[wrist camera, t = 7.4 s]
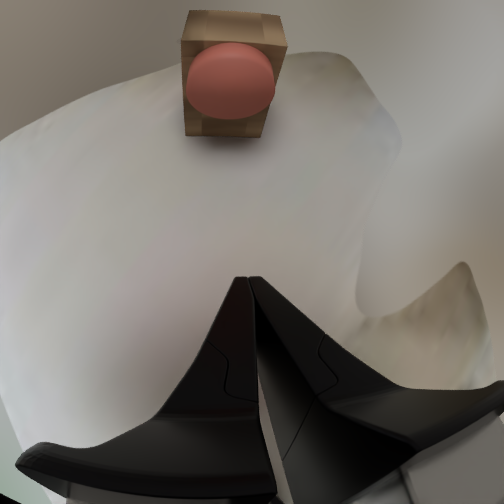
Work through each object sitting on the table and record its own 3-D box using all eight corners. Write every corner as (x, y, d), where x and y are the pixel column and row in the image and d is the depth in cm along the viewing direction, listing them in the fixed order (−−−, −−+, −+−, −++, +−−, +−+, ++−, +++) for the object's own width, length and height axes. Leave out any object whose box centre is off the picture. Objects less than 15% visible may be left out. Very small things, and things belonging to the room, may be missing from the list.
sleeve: (260, 137, 26) (287, 46, 15) (185, 135, 25) (180, 40, 14) (257, 101, 27) (279, 15, 17) (189, 99, 26) (189, 10, 16)
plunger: (266, 121, 21) (284, 63, 15) (187, 119, 20) (184, 58, 14) (259, 58, 23) (271, 8, 17) (195, 55, 22) (197, 4, 16)
